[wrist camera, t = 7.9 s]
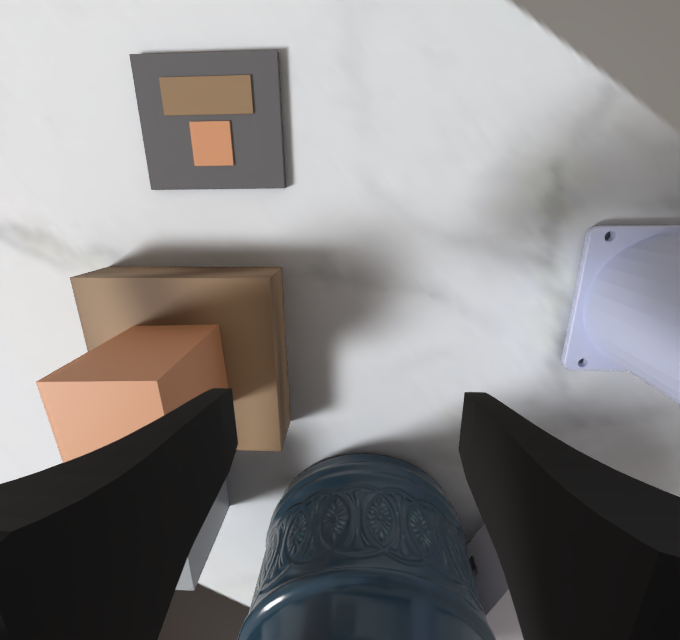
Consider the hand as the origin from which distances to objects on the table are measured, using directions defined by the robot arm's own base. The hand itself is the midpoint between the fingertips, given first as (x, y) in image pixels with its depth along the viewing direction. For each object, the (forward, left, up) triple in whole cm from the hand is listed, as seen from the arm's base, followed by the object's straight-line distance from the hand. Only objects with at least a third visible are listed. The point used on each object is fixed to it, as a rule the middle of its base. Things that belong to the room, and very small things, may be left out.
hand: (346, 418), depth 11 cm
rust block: (+9, +2, -8) cm, 12 cm away
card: (+7, -10, -10) cm, 16 cm away
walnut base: (+9, +2, -11) cm, 14 cm away
